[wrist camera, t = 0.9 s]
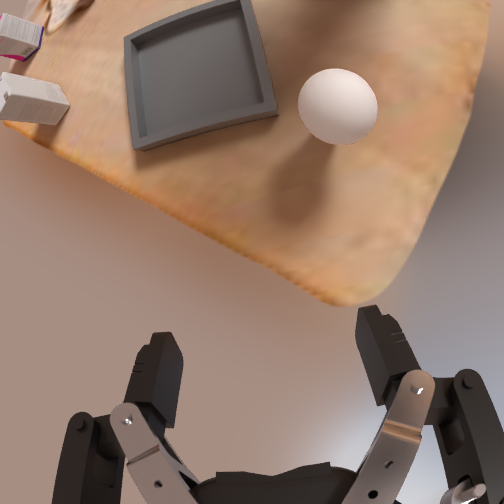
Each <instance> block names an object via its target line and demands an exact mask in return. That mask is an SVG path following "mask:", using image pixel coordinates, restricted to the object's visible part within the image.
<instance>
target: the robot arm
mask: <svg viewBox="0 0 504 504" xmlns="http://www.w3.org/2000/svg"><path fill="white" fill-rule="evenodd" d="M355 338H356V343H357V347H358V349H359V352H360V355H361V358H362V361H363V364H364V367H365V370H366V373H367V376H368V379H369V382H370V385H371V388H372V391H373V394H374V397H375V401H376V404H377V406H381V405H385V406H386V409H387V412H386V415H385V417H384V419H383V421H382V423H381V426H380V428H379V430H378V432H377V434H376V436H375V438H374V441H373V442H372V444H371V446H370V448H369V450H368V452H367V454H366V455H365V457H364V459H363V461H362V463H361V464H360V466H359V468H358V470H357V471H356V472H354V471H351V470H348V469H345V468H341V467H331V466H330V462H325V463H320V464H314V465H307V466H301V467H298V468H296V469H293V470H290V471H287V472H284V473H282V474H278V475H275V476H268V475H261V474H255V473H248V472H216V477H214V478H211V479H208V480H206V481H203V482H201V483H200V482H199V481H198V479H197V478H196V477H195V476H194V475H193V473H192V472H191V471H190V470H189V469H188V468H187V467H186V466H185V465H184V463H183V462H182V460H181V459H180V457H179V456H178V455H177V453H176V452H175V450H174V449H173V447H172V446H171V444H170V443H169V441H168V440H167V438H166V437H165V436H164V433H165V428H174V423H175V417H176V409H177V403H178V396H179V390H180V384H181V376H182V371H183V356H182V353H181V351H180V349H179V347H178V345H177V343H176V341H175V339H174V337H173V335H172V333H171V332H157V333H153V334H152V337H151V341H150V344H149V345H144V346H143V347H142V348H141V350H140V351H139V352H138V354H137V357H136V360H135V365H134V367H133V371H132V372H133V373H132V374H131V377H130V381H129V384H128V388H127V391H126V395H125V399H124V402H123V403H122V404H120V405H118V406H117V407H115V408H114V409H113V411H112V412H111V414H109V415H104V416H100V417H95V418H93V417H92V416H91V415H90V414H88V413H86V412H79V413H76V414H75V415H74V416H73V417H72V418H71V419H70V421H69V423H68V427H67V431H66V434H65V439H64V443H63V447H62V451H61V456H60V460H59V465H58V470H57V475H56V480H55V486H54V492H53V498H52V504H120V499H121V498H120V497H121V488H122V478H123V469H124V461H125V457H127V459H128V463H127V469H128V471H129V473H130V475H131V477H132V478H133V480H134V482H135V484H136V486H137V487H138V489H139V491H140V492H141V494H142V496H143V498H144V499H145V501H146V502H147V504H401V503H400V502H398V501H397V500H395V499H396V497H397V495H398V493H399V491H400V489H401V487H402V485H403V483H404V481H405V478H406V476H407V474H408V472H409V469H410V467H411V465H412V463H413V460H414V458H415V455H416V453H417V450H418V448H419V445H420V442H421V438H422V436H421V431H422V428H423V425H433V427H434V431H435V434H436V438H437V442H438V445H439V449H440V453H441V457H442V461H443V465H444V469H445V474H446V478H447V482H448V488H449V490H447V491H446V492H445V494H444V495H443V496H442V498H441V501H440V504H504V432H503V429H502V426H501V423H500V421H499V418H498V416H497V413H496V410H495V408H494V406H493V403H492V401H491V398H490V396H489V394H488V391H487V389H486V387H485V385H484V382H483V380H482V378H481V376H480V375H479V374H478V373H477V372H476V371H474V370H472V369H464V370H461V371H459V372H458V373H457V374H456V375H455V377H453V378H435V377H432V376H431V375H430V374H429V373H427V372H426V371H423V370H422V369H421V368H420V366H419V364H418V362H417V360H416V358H415V356H414V354H413V352H412V349H411V347H410V345H409V343H408V341H407V340H406V338H405V335H404V333H402V329H401V328H400V326H399V324H398V322H397V321H396V320H395V319H394V318H393V317H392V316H390V315H389V314H387V315H382V314H381V312H380V310H379V308H378V307H377V305H371V306H366V307H361V308H359V309H358V315H357V323H356V330H355Z"/></svg>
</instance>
